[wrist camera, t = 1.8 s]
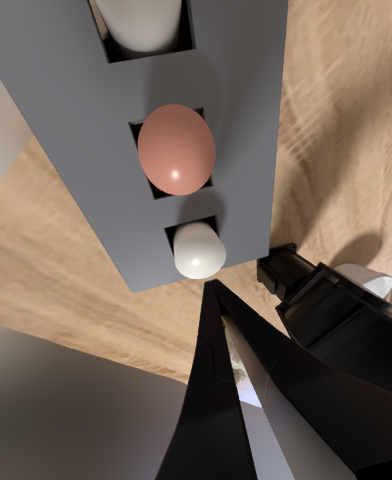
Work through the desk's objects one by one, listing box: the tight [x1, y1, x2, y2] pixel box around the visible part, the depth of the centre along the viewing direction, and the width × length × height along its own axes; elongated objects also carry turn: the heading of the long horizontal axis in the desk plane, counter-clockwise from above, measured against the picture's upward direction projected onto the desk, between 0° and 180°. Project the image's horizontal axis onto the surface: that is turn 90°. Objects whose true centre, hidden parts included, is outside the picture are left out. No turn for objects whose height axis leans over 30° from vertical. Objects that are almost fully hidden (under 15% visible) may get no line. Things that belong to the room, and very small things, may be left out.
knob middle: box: [138, 104, 216, 195], centre depth 10 cm, size 4×4×4 cm
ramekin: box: [334, 263, 392, 298], centre depth 28 cm, size 11×11×5 cm
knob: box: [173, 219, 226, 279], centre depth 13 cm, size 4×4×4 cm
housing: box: [0, 0, 288, 294], centre depth 12 cm, size 16×23×5 cm
